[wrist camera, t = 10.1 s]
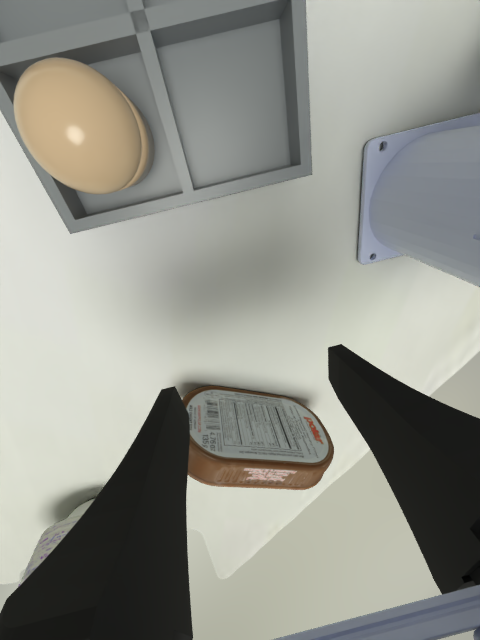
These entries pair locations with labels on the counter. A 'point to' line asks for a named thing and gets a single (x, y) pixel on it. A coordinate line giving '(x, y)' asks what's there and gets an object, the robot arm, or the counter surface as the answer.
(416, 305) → the counter surface
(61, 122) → the egg
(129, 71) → the grey compartment tray
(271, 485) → the tin
